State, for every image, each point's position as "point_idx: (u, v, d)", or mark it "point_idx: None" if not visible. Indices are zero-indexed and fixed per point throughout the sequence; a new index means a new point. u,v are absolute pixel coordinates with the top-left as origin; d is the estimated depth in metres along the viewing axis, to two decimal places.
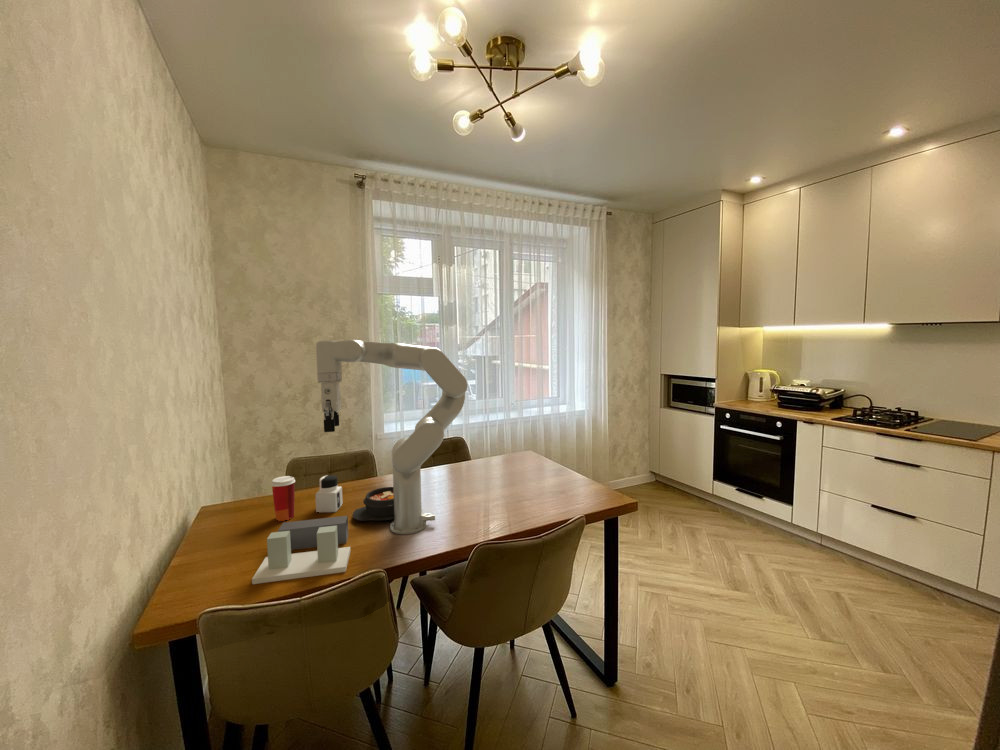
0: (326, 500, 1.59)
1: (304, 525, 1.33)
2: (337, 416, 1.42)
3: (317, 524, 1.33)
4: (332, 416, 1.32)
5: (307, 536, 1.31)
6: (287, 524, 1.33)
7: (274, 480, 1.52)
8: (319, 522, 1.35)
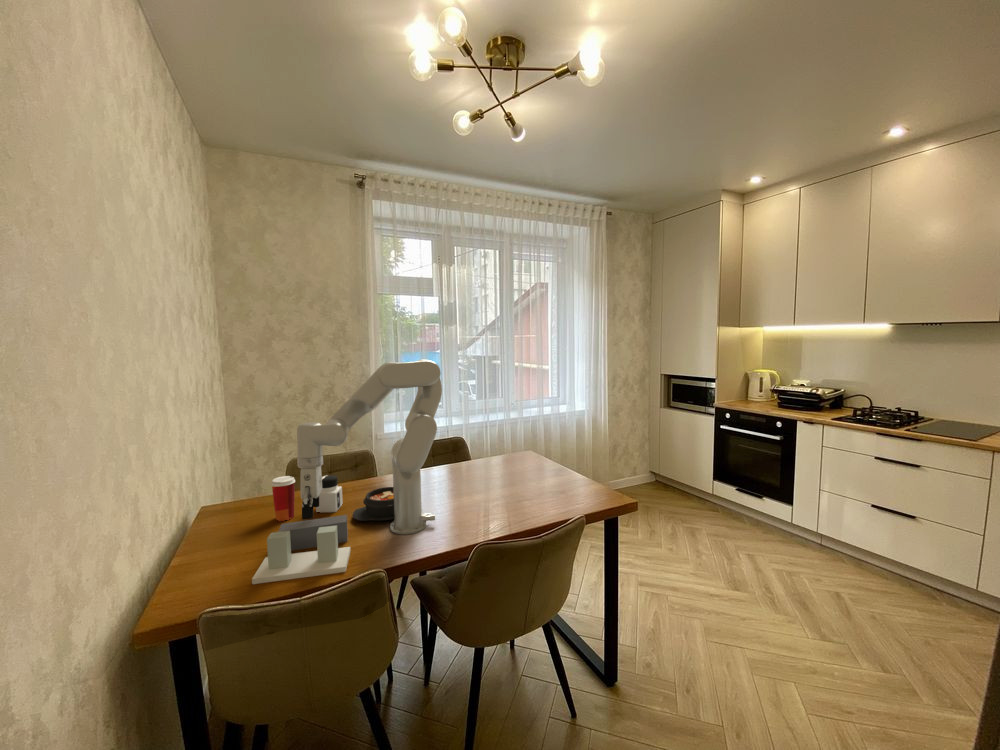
0: (326, 500, 1.59)
1: (304, 525, 1.32)
2: (317, 497, 1.38)
3: (318, 524, 1.33)
4: (311, 503, 1.28)
5: (308, 537, 1.31)
6: (286, 525, 1.33)
7: (274, 480, 1.52)
8: (319, 522, 1.35)
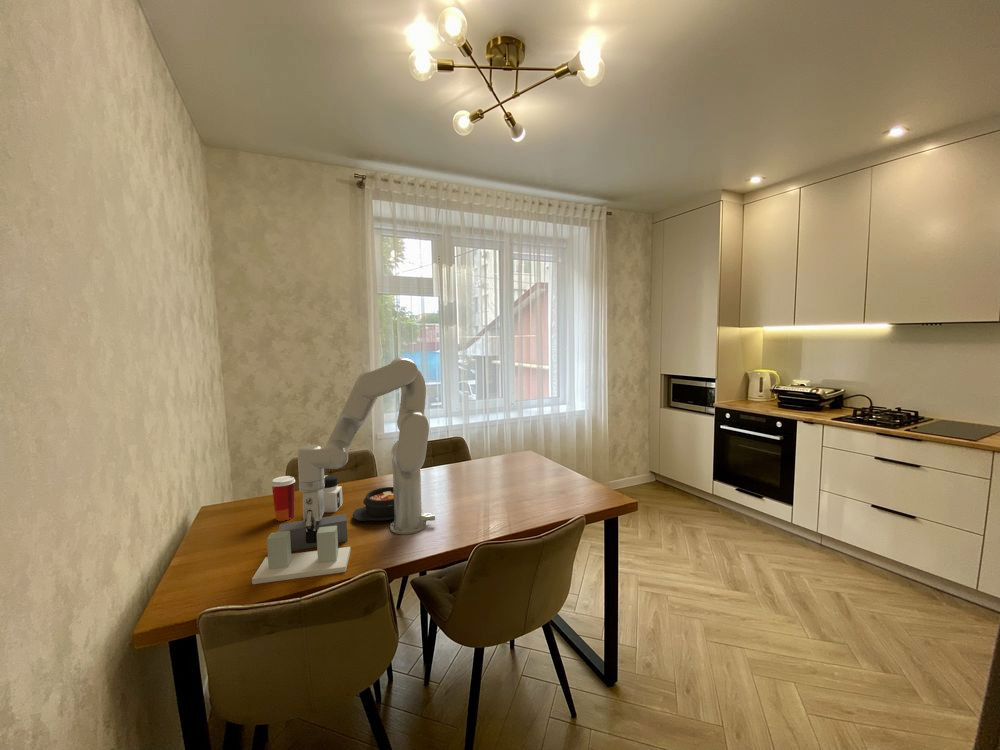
0: (326, 500, 1.59)
1: (304, 525, 1.32)
2: None
3: (318, 523, 1.33)
4: (314, 528, 1.30)
5: None
6: (285, 525, 1.32)
7: (274, 480, 1.52)
8: (319, 521, 1.35)
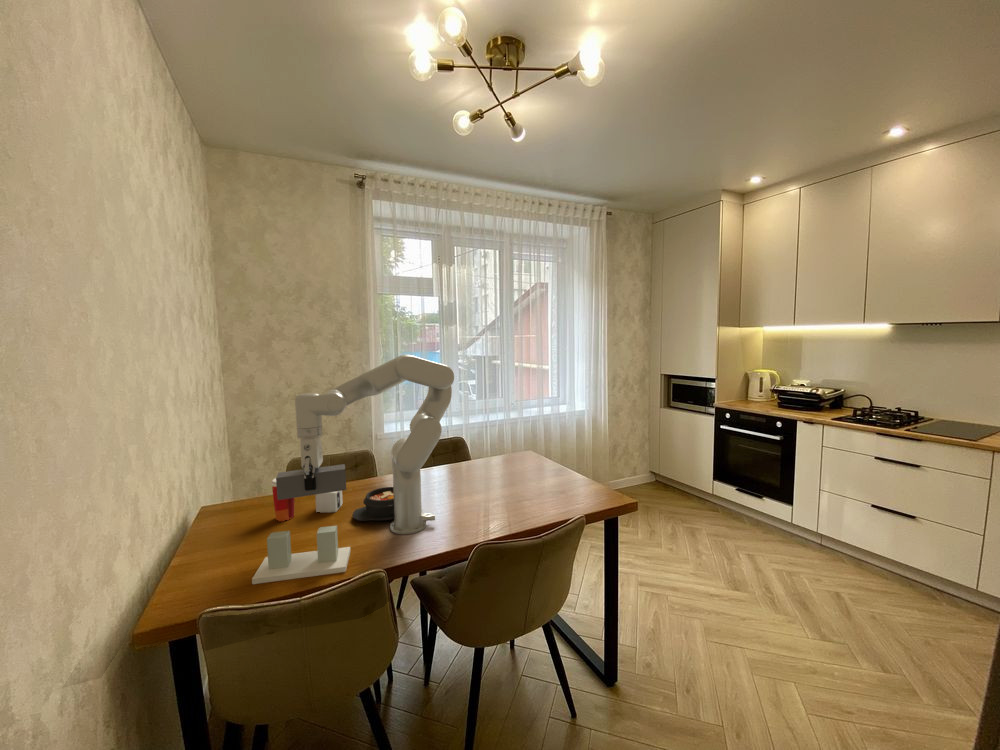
0: (326, 500, 1.59)
1: (302, 473, 1.31)
2: None
3: (316, 471, 1.32)
4: (313, 475, 1.29)
5: None
6: (283, 473, 1.31)
7: (274, 480, 1.52)
8: (317, 470, 1.34)
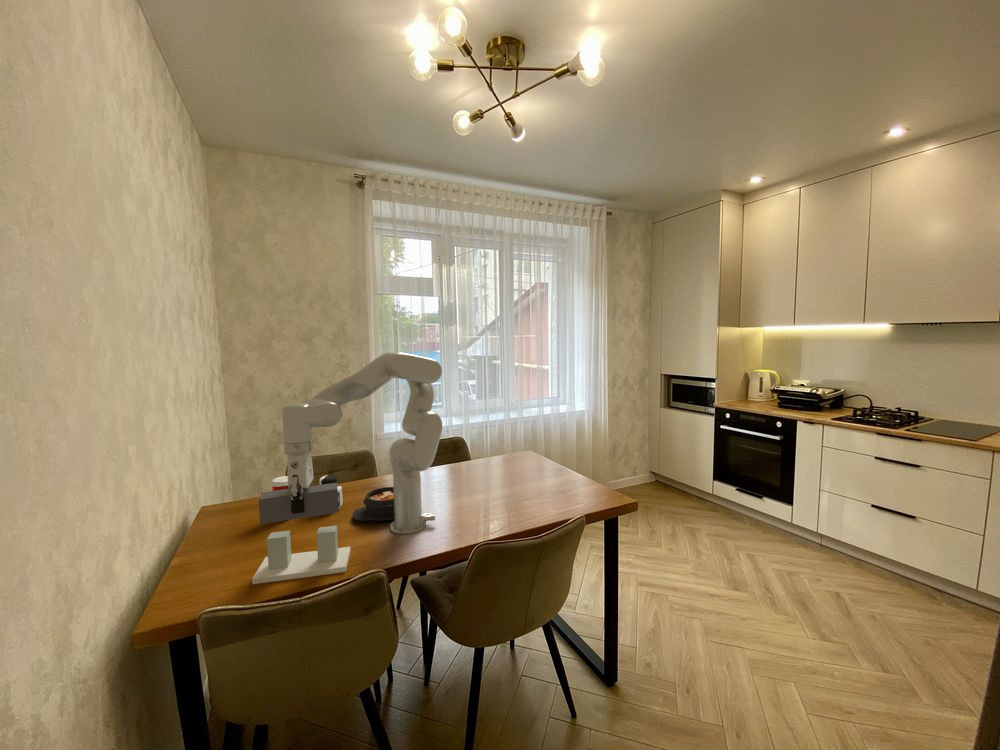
0: None
1: (289, 493, 1.16)
2: None
3: (305, 491, 1.17)
4: (301, 496, 1.14)
5: None
6: (268, 493, 1.16)
7: (274, 480, 1.52)
8: (306, 489, 1.19)
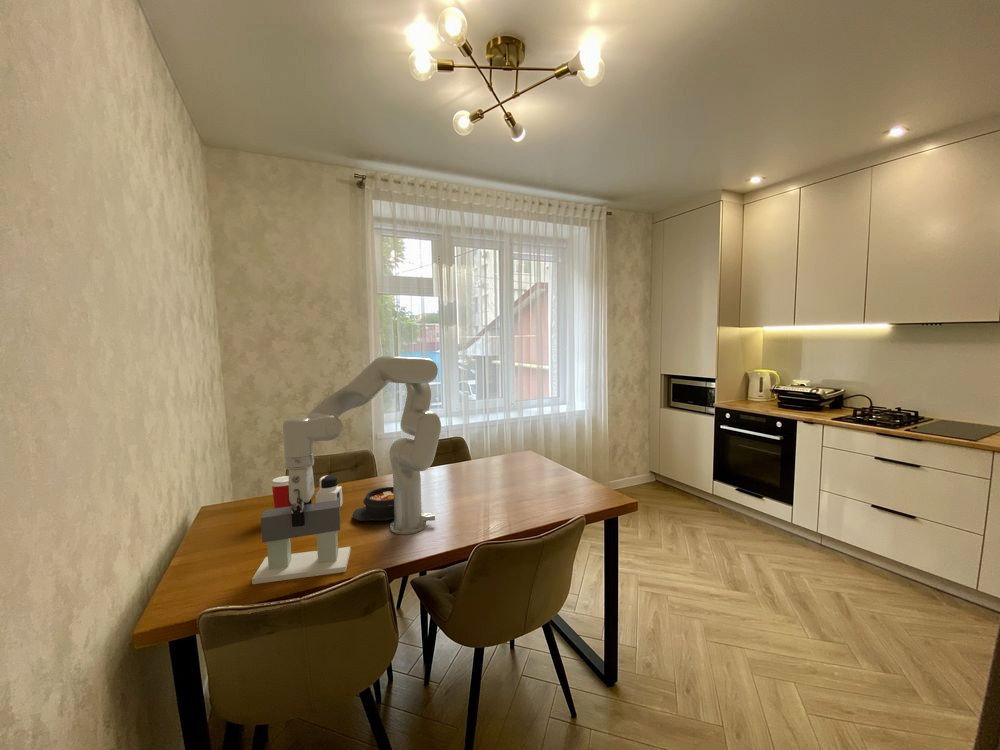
0: (326, 500, 1.59)
1: (290, 511, 1.17)
2: (309, 501, 1.24)
3: (306, 509, 1.18)
4: (301, 509, 1.14)
5: None
6: (270, 511, 1.17)
7: (274, 480, 1.52)
8: (308, 507, 1.20)
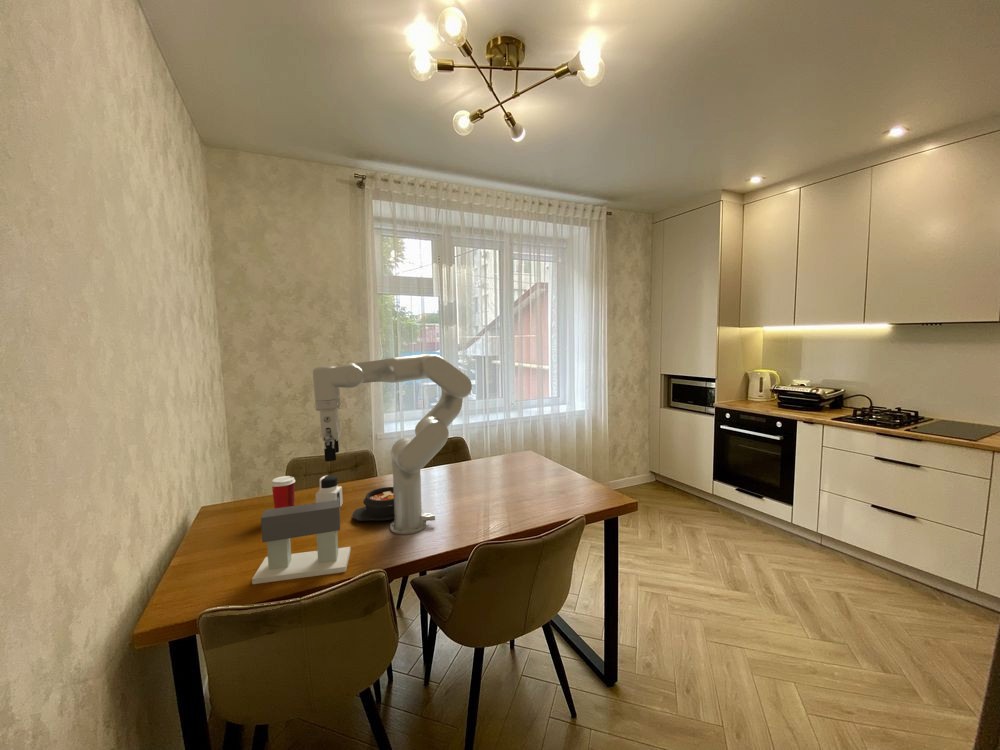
0: (326, 500, 1.59)
1: (290, 511, 1.17)
2: (336, 442, 1.38)
3: (306, 509, 1.18)
4: (333, 445, 1.28)
5: (295, 524, 1.16)
6: (270, 511, 1.17)
7: (274, 480, 1.52)
8: (308, 507, 1.20)
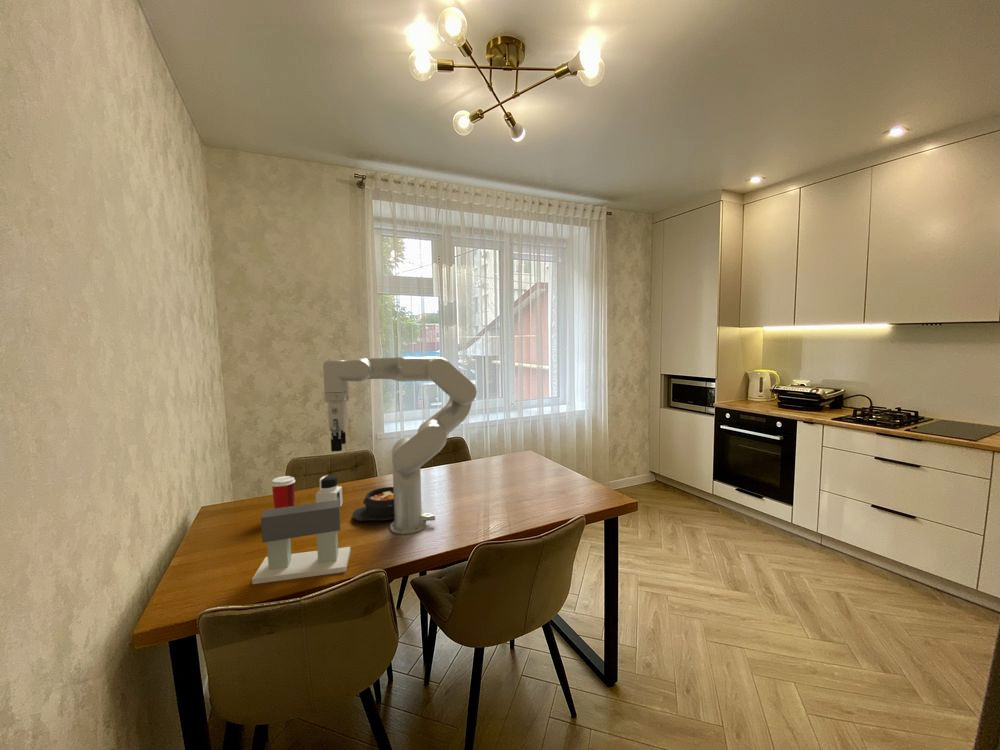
0: (326, 500, 1.59)
1: (290, 511, 1.17)
2: (344, 434, 1.43)
3: (306, 509, 1.18)
4: (339, 435, 1.33)
5: (295, 524, 1.16)
6: (270, 511, 1.17)
7: (274, 480, 1.52)
8: (308, 507, 1.20)
